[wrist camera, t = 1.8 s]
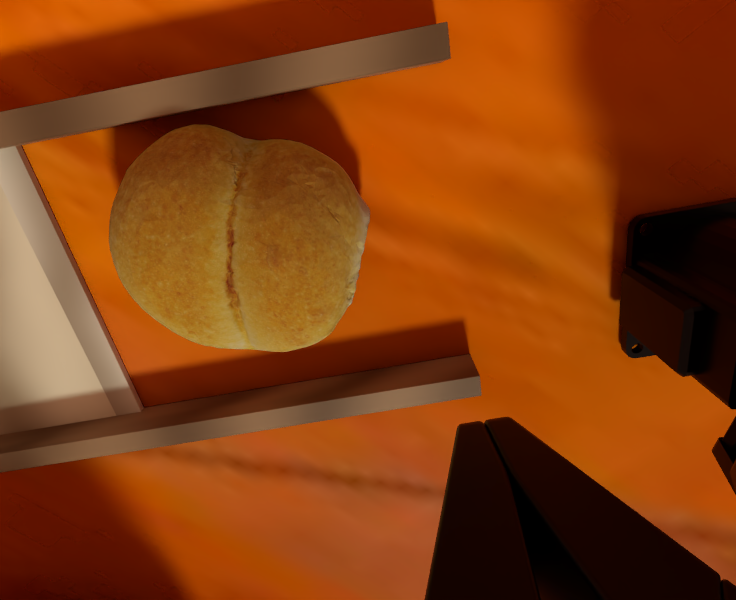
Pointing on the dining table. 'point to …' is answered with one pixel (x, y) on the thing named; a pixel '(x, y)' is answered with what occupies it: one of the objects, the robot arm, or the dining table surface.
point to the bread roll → (238, 239)
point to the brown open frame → (84, 323)
